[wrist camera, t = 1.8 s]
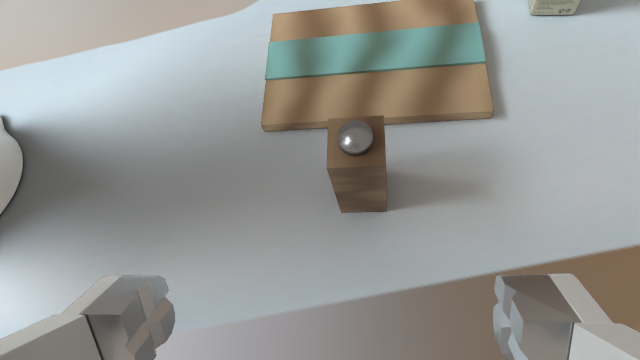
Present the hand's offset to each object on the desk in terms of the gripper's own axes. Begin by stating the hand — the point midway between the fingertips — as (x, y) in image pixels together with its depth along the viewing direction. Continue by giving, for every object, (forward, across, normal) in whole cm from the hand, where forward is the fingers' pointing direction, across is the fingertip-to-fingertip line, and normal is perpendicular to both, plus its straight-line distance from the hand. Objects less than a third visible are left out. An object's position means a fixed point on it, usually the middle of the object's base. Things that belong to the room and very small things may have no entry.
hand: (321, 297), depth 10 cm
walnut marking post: (+25, 0, +8) cm, 26 cm away
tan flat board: (+36, -1, -3) cm, 36 cm away
